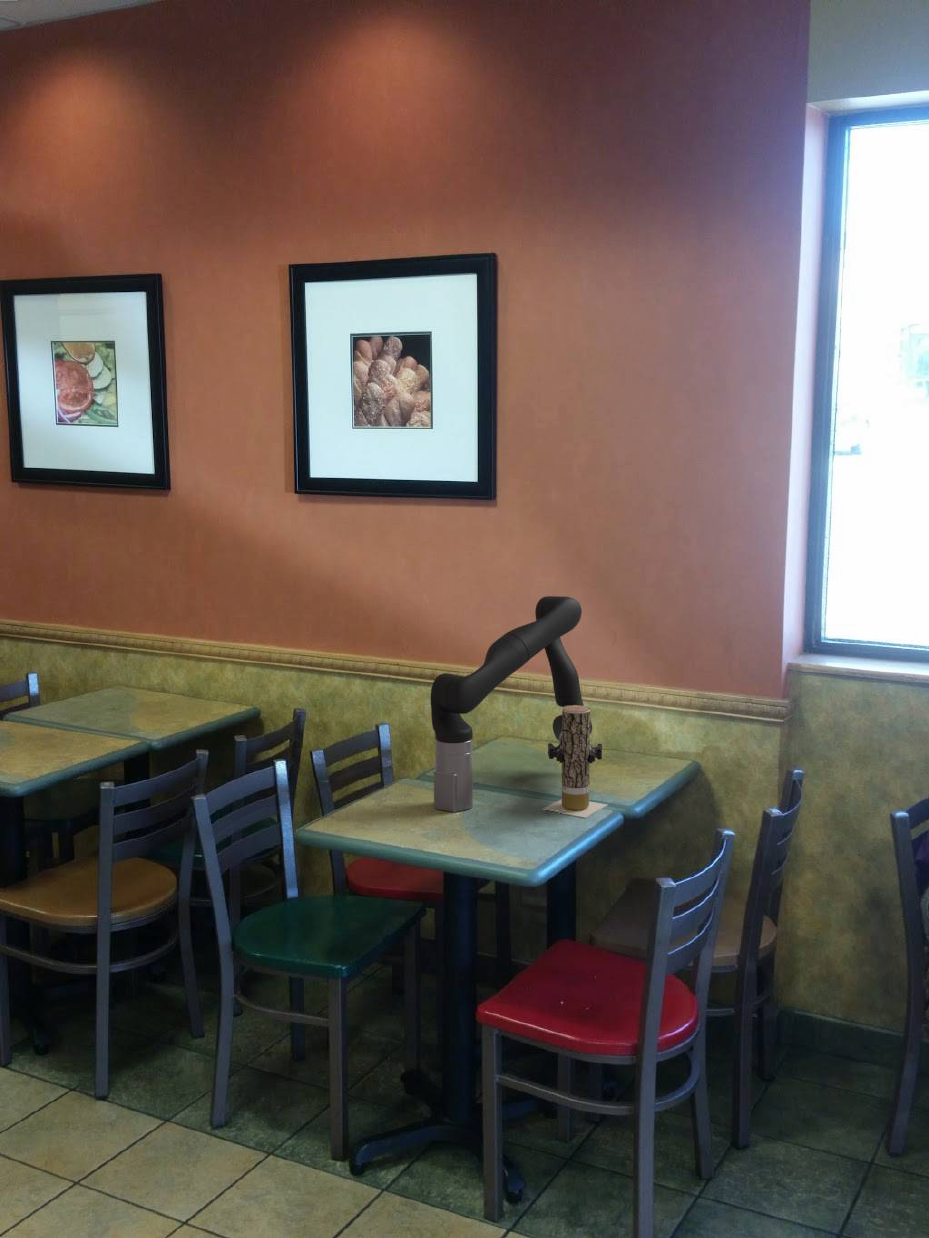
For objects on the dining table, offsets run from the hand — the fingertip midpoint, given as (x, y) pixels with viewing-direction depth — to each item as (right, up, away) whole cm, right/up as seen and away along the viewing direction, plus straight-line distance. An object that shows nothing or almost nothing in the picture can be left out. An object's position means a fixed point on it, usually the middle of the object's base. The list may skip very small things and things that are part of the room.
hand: (576, 759), depth 301 cm
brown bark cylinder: (0, -12, +4) cm, 13 cm away
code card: (0, -12, +4) cm, 13 cm away
